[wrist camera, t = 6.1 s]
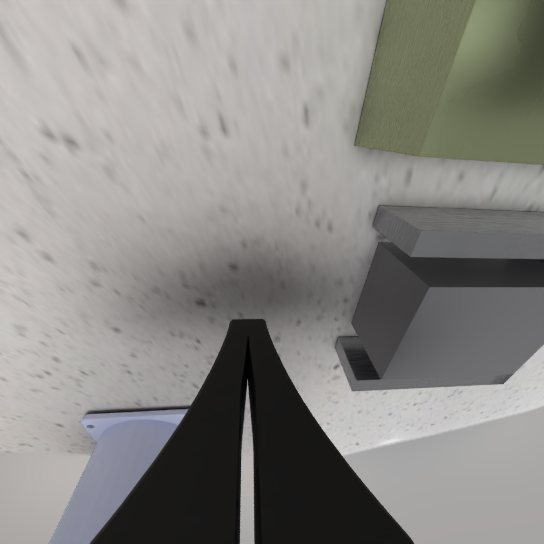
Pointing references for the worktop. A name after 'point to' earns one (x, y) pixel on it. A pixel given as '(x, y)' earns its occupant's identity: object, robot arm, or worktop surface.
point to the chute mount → (454, 134)
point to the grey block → (449, 314)
